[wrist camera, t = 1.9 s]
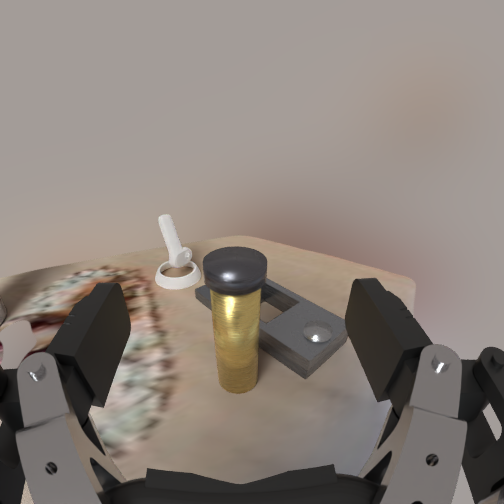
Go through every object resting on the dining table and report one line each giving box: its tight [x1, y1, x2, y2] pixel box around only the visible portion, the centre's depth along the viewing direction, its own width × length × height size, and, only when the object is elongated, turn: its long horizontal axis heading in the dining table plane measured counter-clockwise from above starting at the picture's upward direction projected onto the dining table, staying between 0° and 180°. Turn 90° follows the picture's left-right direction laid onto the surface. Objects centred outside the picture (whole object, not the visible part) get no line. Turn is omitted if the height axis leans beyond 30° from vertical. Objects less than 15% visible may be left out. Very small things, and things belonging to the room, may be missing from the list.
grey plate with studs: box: [195, 278, 348, 379], centre depth 36 cm, size 20×8×3 cm, turn 43°
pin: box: [203, 247, 267, 394], centre depth 25 cm, size 5×5×14 cm
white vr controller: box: [155, 214, 201, 289], centre depth 46 cm, size 8×12×7 cm
